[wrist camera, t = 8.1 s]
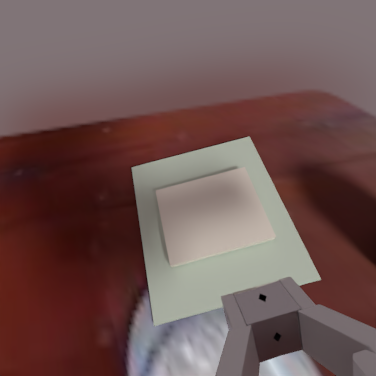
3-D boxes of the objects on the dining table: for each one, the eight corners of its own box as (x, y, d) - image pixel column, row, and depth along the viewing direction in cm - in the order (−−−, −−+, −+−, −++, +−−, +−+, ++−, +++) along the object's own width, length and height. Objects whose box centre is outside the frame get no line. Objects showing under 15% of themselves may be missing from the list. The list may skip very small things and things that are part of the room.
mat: (155, 325, 20) (154, 326, 19) (132, 169, 28) (131, 167, 27) (318, 280, 20) (321, 279, 20) (248, 139, 28) (249, 136, 28)
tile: (170, 265, 20) (155, 190, 24) (172, 267, 21) (157, 195, 25) (276, 236, 21) (244, 166, 24) (273, 240, 22) (243, 172, 25)
